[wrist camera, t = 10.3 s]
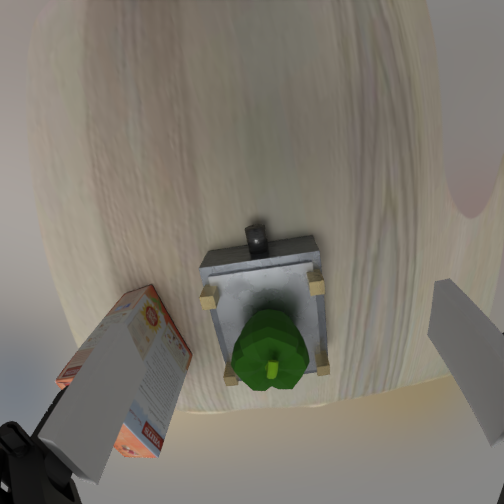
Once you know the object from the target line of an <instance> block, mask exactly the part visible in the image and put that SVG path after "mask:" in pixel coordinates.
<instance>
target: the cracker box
mask: <svg viewBox="0 0 504 504" xmlns="http://www.w3.org/2000/svg"><path fill="white" fill-rule="evenodd" d="M117 323H126V325H127V328H128V330H129V332H130V334H131V337H132V339H133V341H134V343H135V346H136V348H137V350H138V352H139V354H140V356H141V358H142V360H143V363H144V365H145V367H146V369H147V371H146V373H145V375H144V377H143V380H142V382H141V384H140V386H139V388H138V391H137V393H136V395H135V397H134V400H133V402H132V404H131V406H130V409H129V411H128V413H127V416H126V418H125V420H124V422H123V425H122V427H121V429H120V432H119V434H118V437H117V439H116V441H115V444H114V447H115V448H116V449H117V450H118V451H119V452H120V453H121V454H122V455H123V456H124V457H147V458H158V457H159V454H160V451H161V449H162V445H163V442H164V439H165V436H166V433H167V430H168V426H169V424H170V420H171V418H172V415H173V412H174V409H175V406H176V403H177V400H178V397H179V394H180V391H181V388H182V385H183V382H184V379H185V376H186V373H187V370H188V367H189V365H190V362H191V359H192V354H191V352H190V351H189V349H188V347H187V346H186V344H185V342H184V341H183V339H182V337H181V336H180V334H179V332H178V331H177V329H176V327H175V325H174V324H173V322H172V320H171V318H170V317H169V315H168V313H167V311H166V310H165V308H164V306H163V304H162V302H161V301H160V299H159V297H158V295H157V293H156V291H155V290H154V288H153V286H152V285H149V286H147V287H144V288H141V289H138V290H135V291H132V292H129V293H126V294H124V295H123V296H122V297H121V299H120V300H119V301H118V302H117V303H116V304H115V306H114V307H113V308H112V309H111V310H110V311H109V313H108V314H107V315H106V316H105V317H104V319H103V320H102V321H101V322H100V323H99V325H98V326H97V327H96V328H95V330H94V331H93V332H92V333H91V335H90V336H89V337H88V338H87V340H86V341H85V342H84V343H83V344H82V346H81V347H80V348H79V350H78V351H77V352H76V353H75V355H74V356H73V357H72V359H71V360H70V361H69V363H68V364H67V365H66V367H65V368H64V369H63V370H62V372H61V373H60V375H59V376H58V377H57V378H56V380H55V382H56V384H57V385H58V386H59V387H60V388H61V390H62V389H64V388H65V387H66V386H67V385H70V383H71V382H72V380H73V379H74V377H75V376H76V374H77V373H78V371H79V370H80V368H81V367H82V365H83V364H84V362H85V361H86V359H87V358H88V357H89V355H90V354H91V352H92V351H93V349H94V348H95V346H96V345H97V344H98V342H99V341H100V339H101V338H102V336H103V335H104V334H105V332H106V331H107V329H108V328H109V327H110V325H111V324H117Z"/></svg>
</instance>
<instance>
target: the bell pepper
mask: <svg viewBox="0 0 504 504" xmlns="http://www.w3.org/2000/svg"><path fill="white" fill-rule="evenodd" d="M309 362H310V359H309V354H308V349H307V347H306V344H305V341H304V339H303V337H302V335H301V333H300V331H299V330H298V328H297V327H296V325H294V323H293V322H292V320H291V319H290V318H289V317H288V316H287V315H286V314H285V313H283V312H282V311H278V310H273V309H266V310H262V311H258V312H257V313H256V314H255V315H254V316H252V317H251V318H250V319H249V320H248V322H247V323H246V324H245V326H244V328H243V329H242V331H241V334H240V335H239V337H238V339H237V341H236V342H235V344H234V348H233V353H232V359H231V366H232V368H233V370H234V372H235V373H236V374H237V375H238V377H239V378H240V379H241V380H242V381H243V382H244V383H245V384H247V385H248V386H249V387H250V388H251V389H252V390H254V391H266V390H267V389H268V388H270V387H271V386H273V387H275V388H277V389H293V387H294V386H295V385H296V384H297V382H298V381H299V380H300V378H301V377H302V375H303V374H304V372H305V370H306V369H307V367H308V364H309Z"/></svg>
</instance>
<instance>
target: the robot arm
mask: <svg viewBox="0 0 504 504" xmlns="http://www.w3.org/2000/svg"><path fill="white" fill-rule="evenodd" d="M427 335H428V337H429V338H430V340H431V341H432V343H433V344H434V346H435V347H436V349H437V351H438V352H439V354H440V355H441V357H442V359H443V360H444V362H445V363H446V365H447V367H448V368H449V370H450V372H451V373H452V375H453V376H454V378H455V380H456V382H457V384H458V385H459V387H460V389H461V390H462V392H463V394H464V396H465V398H466V399H467V401H468V403H469V405H470V407H471V408H472V410H473V412H474V414H475V416H476V418H477V420H478V422H479V424H480V426H481V427H482V429H483V431H484V433H485V435H486V437H487V439H488V441H489V443H490V446H491V447H494V446H496V445H498V444H500V443H502V442H504V333H501V332H500V331H499V329H498V328H497V327H496V326H495V325H494V324H493V323H492V322H491V321H490V319H489V318H488V317H487V316H486V315H485V314H484V313H483V312H482V311H481V310H480V309H479V308H478V307H477V306H476V305H475V303H474V302H473V301H472V300H471V299H470V298H469V297H468V296H467V295H466V294H465V293H464V292H463V291H462V290H461V289H460V288H459V287H458V286H457V285H456V284H455V283H454V282H453V281H452V280H451V279H450V278H449V279H445V280H440V281H435V284H434V293H433V301H432V309H431V316H430V322H429V328H428V334H427ZM146 371H147V369H146V367H145V365H144V363H143V360H142V358H141V356H140V354H139V352H138V350H137V348H136V346H135V343H134V341H133V339H132V337H131V334H130V332H129V330H128V328H127V325H126V323H117V324H111V325H110V327H109V328H108V329H107V331H106V332H105V334H104V335H103V336H102V338H101V339H100V341H99V342H98V344H97V345H96V346H95V348H94V349H93V351H92V352H91V354H90V355H89V357H88V358H87V359H86V361H85V362H84V364H83V365H82V367H81V368H80V370H79V371H78V373H77V374H76V376H75V377H74V379H73V380H72V382H71V383H70V385H67V386H66V387H65V388H64V389H62V390H61V391H60V392H59V393H58V394H57V396H56V398H55V399H54V401H53V404H51V405H50V407H49V408H48V412H47V411H46V413H45V414H44V417H43V418H42V419H41V421H40V423H39V424H38V426H37V427H36V429H35V431H34V432H33V434H32V436H31V437H29V435H28V434H27V433H26V432H25V431H24V430H23V429H22V427H21V426H20V425H19V424H18V423H17V422H14V421H10V422H7V423H5V424H3V425H2V426H1V427H0V504H82V503H81V500H80V497H79V494H78V491H77V488H76V485H75V483H74V481H73V479H71V475H72V473H74V474H75V475H76V476H77V477H79V478H80V479H81V480H82V481H86V482H89V483H92V484H96V485H98V483H99V480H100V478H101V475H102V473H103V470H104V468H105V465H106V463H107V460H108V458H109V456H110V453H111V451H112V448H113V446H114V444H115V441H116V439H117V437H118V434H119V432H120V429H121V427H122V425H123V422H124V420H125V418H126V416H127V413H128V411H129V409H130V406H131V404H132V402H133V400H134V397H135V395H136V393H137V391H138V388H139V386H140V384H141V382H142V380H143V377H144V375H145V373H146ZM1 481H2V482H3V483H4V484H5V485H6V486H8V492H6V491H5V490H3V489H2V488H1ZM497 504H504V485H503V488H502V491H501V494H500V497H499V500H498V502H497Z"/></svg>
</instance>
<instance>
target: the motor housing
mask: <svg viewBox="0 0 504 504" xmlns="http://www.w3.org/2000/svg"><path fill="white" fill-rule="evenodd" d="M245 233H246V238H247V243H248V245H244V246H238V247H231V248H225V249H218V250H212V251H208V252H207V254H206V256H205V258H204V260H203V262H202V263H201V265H200V267H199V271H200V275H201V279H202V283H203V286H204V288H203V290H202V293H201V295H200V297H199V298H200V302H201V306H202V309H203V310H208V309H210V312H211V316H212V320H213V323H214V327H215V330H216V334H217V337H218V341H219V344H220V347H221V351H222V354H223V358H224V361H225V364H226V366H225V372H224V377H223V378H224V381H225V384H226V386H234V385H238V381H242V380H241V379H240V378H239V377H238V375H237V374H236V373H235V372H234V370H233V368H232V366H231V359H232V353H233V348H234V344H235V342H236V341H237V339H238V337H239V335H240V334H241V331H242V329H243V328H244V326H245V324H246V323H247V322H248V320H249V319H250V318H251V317H252V316H254V315H255V314H256V313H257V312H258V311H262V310H266V309H273V310H278V311H282V312H283V313H285V314H286V315H287V316H288V317H289V318H290V319H291V320H292V322H293V323H294V325H296V327H297V328H298V330H299V331H300V333H301V335H302V337H303V339H304V341H305V344H306V347H307V349H308V354H309V359H310V362H309V364H308V367H307V369H306V370H305V372H304V374H307V373H314V372H317V375H318V376H323V375H329V374H330V365H329V361H328V350H327V333H326V318H325V305H324V294H325V285H324V279H323V276H322V270H321V260H320V251H319V248H318V246H317V244H316V242H315V240H314V237H313V235H311V236H304V237H297V238H291V239H284V240H277V241H271V242H267V236H266V231H265V225H262V224H257V225H252V226H248V227H246V228H245Z"/></svg>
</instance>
